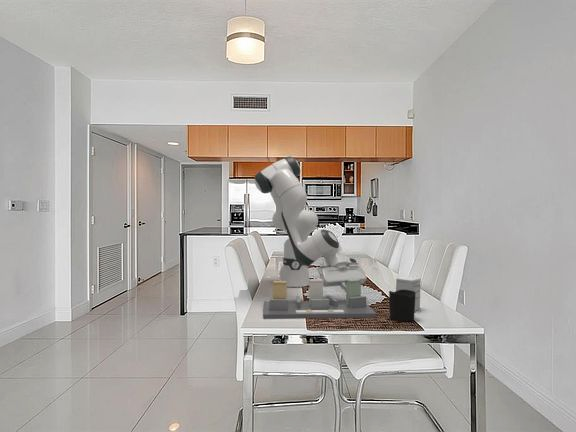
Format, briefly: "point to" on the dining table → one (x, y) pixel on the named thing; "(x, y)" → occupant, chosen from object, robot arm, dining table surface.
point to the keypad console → (318, 308)
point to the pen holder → (402, 305)
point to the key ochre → (279, 289)
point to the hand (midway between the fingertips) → (350, 292)
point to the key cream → (315, 289)
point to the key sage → (352, 289)
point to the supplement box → (410, 287)
